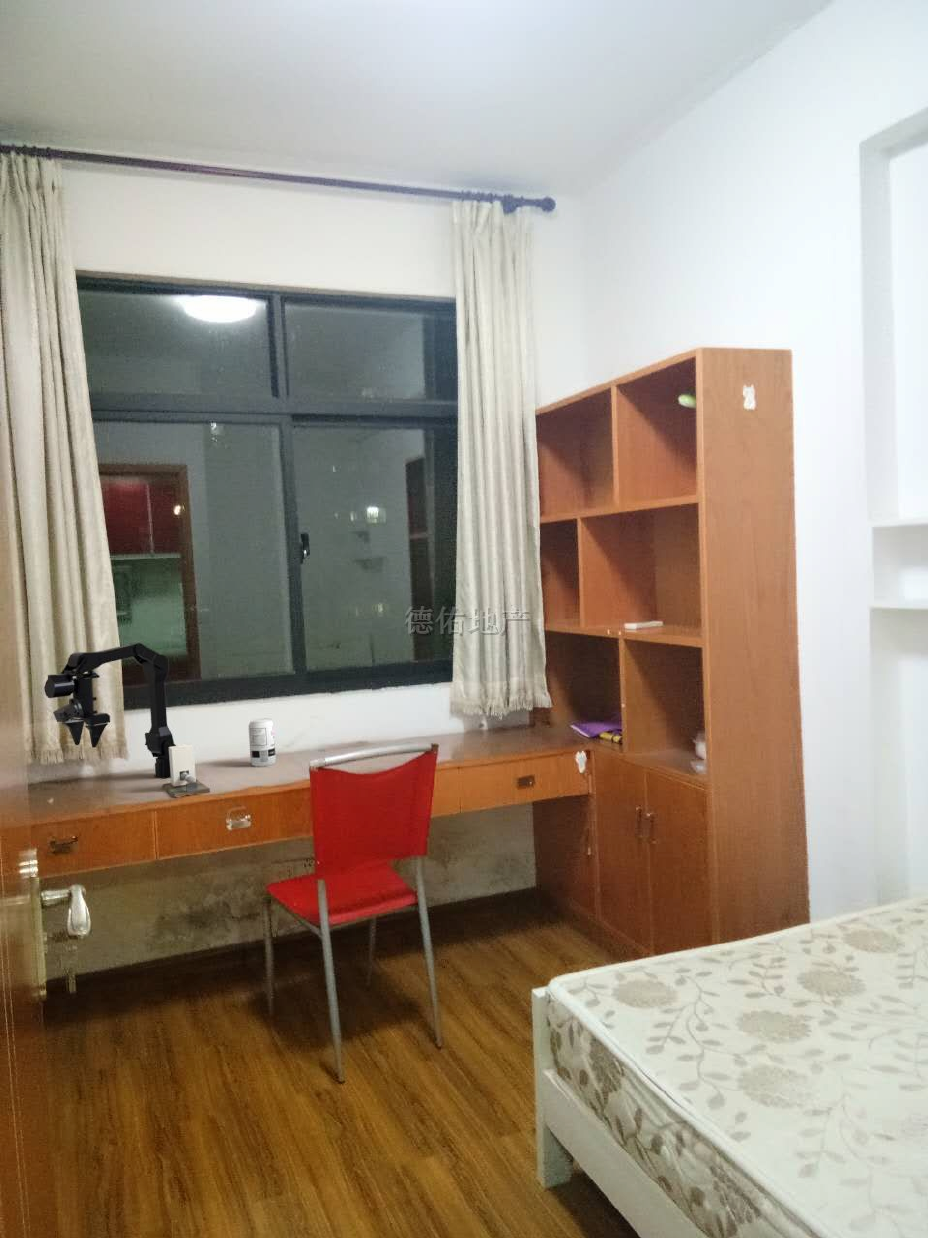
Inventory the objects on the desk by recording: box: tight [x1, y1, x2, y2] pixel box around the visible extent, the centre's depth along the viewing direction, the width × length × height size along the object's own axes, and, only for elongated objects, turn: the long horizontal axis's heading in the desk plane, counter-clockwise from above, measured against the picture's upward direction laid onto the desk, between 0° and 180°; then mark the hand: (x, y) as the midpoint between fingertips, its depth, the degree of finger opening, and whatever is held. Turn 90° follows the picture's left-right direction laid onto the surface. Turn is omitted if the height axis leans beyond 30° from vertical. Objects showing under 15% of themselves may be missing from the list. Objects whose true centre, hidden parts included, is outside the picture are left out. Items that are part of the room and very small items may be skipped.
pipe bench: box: [162, 771, 211, 798], centre depth 264 cm, size 17×10×5 cm, turn 31°
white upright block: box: [169, 743, 197, 787], centre depth 266 cm, size 4×6×11 cm, turn 121°
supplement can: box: [247, 718, 277, 768], centre depth 294 cm, size 8×8×15 cm
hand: (85, 746), depth 262 cm, fingers open, 9 cm apart
